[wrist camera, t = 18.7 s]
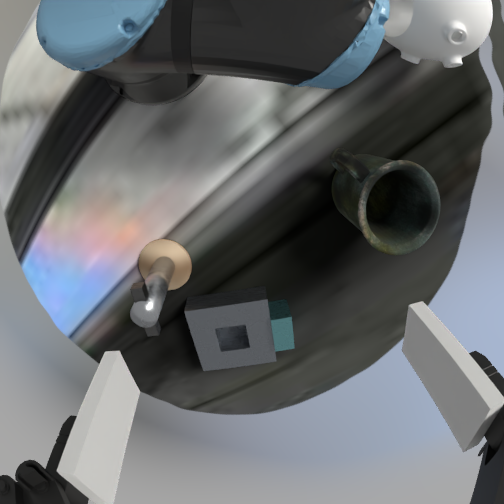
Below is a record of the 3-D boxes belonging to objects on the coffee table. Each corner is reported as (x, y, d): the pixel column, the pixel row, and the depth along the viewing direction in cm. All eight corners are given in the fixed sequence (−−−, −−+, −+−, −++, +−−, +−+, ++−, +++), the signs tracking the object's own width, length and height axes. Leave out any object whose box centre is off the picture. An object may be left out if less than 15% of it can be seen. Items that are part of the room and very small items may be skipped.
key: (160, 286, 46) (140, 339, 34) (148, 248, 44) (121, 292, 32) (180, 284, 46) (165, 337, 34) (169, 244, 44) (148, 288, 32)
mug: (365, 238, 46) (401, 273, 35) (293, 178, 42) (315, 197, 31) (408, 185, 43) (454, 205, 32) (341, 118, 39) (379, 117, 28)
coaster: (133, 243, 44) (132, 245, 43) (185, 234, 44) (184, 236, 43) (147, 291, 47) (147, 293, 46) (197, 284, 47) (196, 286, 46)
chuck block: (187, 297, 48) (183, 315, 43) (284, 282, 48) (289, 299, 43) (204, 355, 52) (203, 375, 48) (290, 342, 52) (295, 362, 48)
